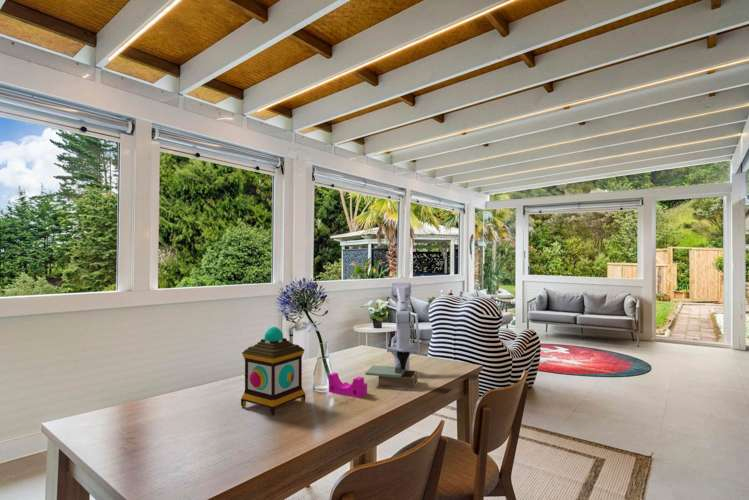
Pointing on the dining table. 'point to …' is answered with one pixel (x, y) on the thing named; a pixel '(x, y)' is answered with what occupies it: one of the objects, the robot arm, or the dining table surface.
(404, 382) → the brown wooden tray
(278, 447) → the dining table surface
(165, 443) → the dining table surface
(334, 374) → the toy block
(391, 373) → the lid
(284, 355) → the decorative lantern
